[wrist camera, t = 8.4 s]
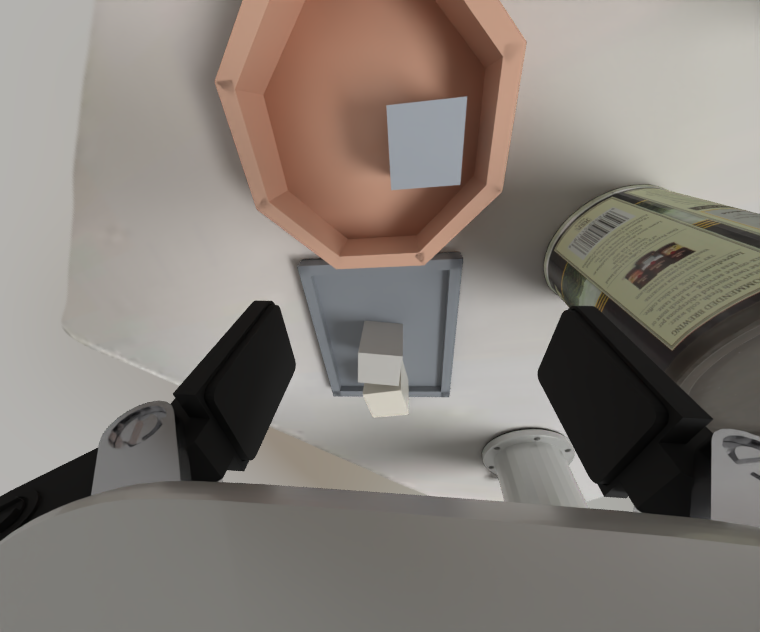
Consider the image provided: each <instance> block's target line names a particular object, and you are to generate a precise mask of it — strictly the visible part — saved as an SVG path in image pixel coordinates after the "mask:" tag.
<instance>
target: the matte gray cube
mask: <svg viewBox="0 0 760 632" xmlns="http://www.w3.org/2000/svg"><path fill="white" fill-rule="evenodd" d="M466 105H467V96H466V97H457V98H448V99H439V100H430V101H421V102H412V103H403V104H394V105H386V108H387V125H388V143H389V161H390V178H391V190H400V189H413V188H426V187H439V186H452V185H460V182H461V169H462V156H463V144H464V131H465V118H466Z"/></svg>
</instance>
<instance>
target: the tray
mask: <svg viewBox="0 0 760 632" xmlns="http://www.w3.org/2000/svg"><path fill="white" fill-rule="evenodd" d="M462 264H463V257H462V255H461V253H460V252H451V253H437V254H436V255H435V256H434V257H433V258H432V259H430V260H429V261H428V262H427V263H426V264H425V265H421V266H399V267H377V268H354V269H335V268H334V267H333V266H331V265H330V264H329V263H327V262H326V261H325V260H323V259H309V260H301V262H300V263H299V264H298V266H297V268H298V271H299V275H300V278H301V282H302V285H303V289H304V293H305V296H306V300H307V303H308V307H309V310H310V314H311V317H312V321H313V325H314V328H315V332H316V335H317V339H318V342H319V346H320V349H321V353H322V357H323V360H324V364H325V367H326V371H327V374H328V378H329V381H330V385H331V389H332V392H333V396H363V388H364V383H360V382H358V351H359V346H360V341H361V336H362V331H363V326H364V321H375V322H386V323H398V324H403V358H402V360H403V363H404V367H405V370H406V373H407V377H408V388H409V397H449V394H450V384H451V374H452V364H453V354H454V344H455V334H456V324H457V314H458V304H459V294H460V284H461V274H462Z"/></svg>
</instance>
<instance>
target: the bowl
mask: <svg viewBox="0 0 760 632" xmlns="http://www.w3.org/2000/svg"><path fill="white" fill-rule="evenodd" d="M526 43H527V42H526V40H525V39H524V37H523V36H522V34H521V33H520V31H519V30H518V28H517V27H516V25H515V23H514V22H513V20H512V19H511V17H510V16H509V14H508V13H507V11H506V10H505V8H504V7H503V5H502V4H501V2H500V1H499V0H243V1H242V3H241V6H240V9H239V12H238V15H237V18H236V21H235V24H234V27H233V29H232V32H231V35H230V38H229V41H228V44H227V47H226V50H225V53H224V55H223V58H222V61H221V64H220V67H219V70H218V73H217V76H216V78H215V85H216V88H217V91H218V94H219V97H220V100H221V103H222V106H223V109H224V112H225V115H226V118H227V121H228V124H229V127H230V130H231V133H232V136H233V139H234V142H235V145H236V148H237V151H238V154H239V157H240V161H241V164H242V167H243V170H244V173H245V176H246V179H247V182H248V185H249V188H250V191H251V194H252V197H253V200H254V203H255V206H256V209H257V210H258V211H260V212H261V213H262V214H264V215H265V216H266V217H268V218H269V219H270V220H272V221H273V222H274V223H276V224H277V225H278V226H279V227H281V228H282V229H283V230H285V231H286V232H287V233H289V234H290V235H291V236H293V237H294V238H295V239H297V240H298V241H299V242H301V243H302V244H303V245H305V246H306V247H307V248H309V249H310V250H311V251H313V252H314V253H315V254H317V255H318V256H319V257H321V258H322V259H323V260H325V261H326V262H327V263H329V264H330V265H331V266H333V267H334V268H335V269H354V268H377V267H399V266H421V265H425V264H426V263H427V262H428V261H429V260H430V259H432V258H433V257H434V256H435V255H436V254H437V253H438V252H439V251H440V250H441V249H442V248H443V247H444V246H445V245H446V244H447V243H448V242H450V241H451V240H452V239H453V238H454V237H455V236H456V235H457V234H458V233H459V232H460V231H461V230H462V229H463V228H464V227H465V226H466V225H468V224H469V223H470V222H471V221H472V220H473V219H474V218H475V217H476V216H477V215H478V214H479V213H480V212H481V211H482V210H483V209H484V208H486V207H487V206H488V205H489V204H490V203H491V202H492V201H493V200H494V199H495V198H496V197H497V196H498V195H499V194H500V193H501V192H502V190H503V184H504V177H505V171H506V165H507V159H508V153H509V147H510V141H511V135H512V129H513V122H514V116H515V110H516V104H517V98H518V92H519V86H520V80H521V74H522V67H523V61H524V55H525V49H526ZM466 96H467V105H466V118H465V131H464V144H463V156H462V169H461V182H460V185H452V186H439V187H426V188H413V189H400V190H391V178H390V161H389V143H388V125H387V108H386V105H394V104H403V103H412V102H421V101H430V100H439V99H448V98H457V97H466Z"/></svg>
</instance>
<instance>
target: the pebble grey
mask: <svg viewBox="0 0 760 632" xmlns="http://www.w3.org/2000/svg"><path fill="white" fill-rule="evenodd" d="M402 358H403V324H398V323H386V322H375V321H364V326H363V331H362V336H361V341H360V346H359V351H358V382H360V383H370V384H381V385H392V386H399V380H400V373H401V366H402Z"/></svg>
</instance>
